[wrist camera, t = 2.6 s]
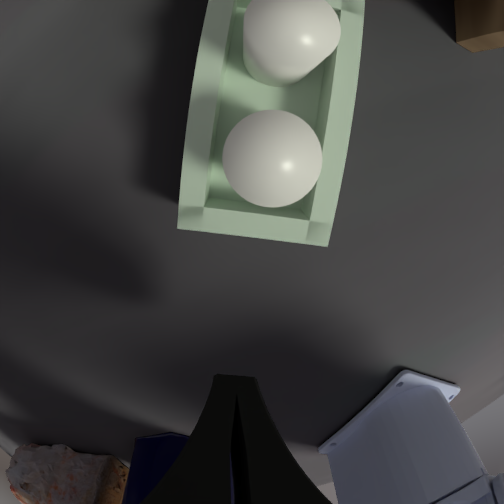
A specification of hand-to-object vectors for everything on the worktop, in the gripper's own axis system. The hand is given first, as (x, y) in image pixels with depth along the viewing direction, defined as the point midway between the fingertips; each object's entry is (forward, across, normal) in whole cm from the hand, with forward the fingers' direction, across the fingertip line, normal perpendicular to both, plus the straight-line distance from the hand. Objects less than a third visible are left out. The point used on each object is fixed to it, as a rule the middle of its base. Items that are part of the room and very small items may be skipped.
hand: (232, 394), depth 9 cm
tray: (+5, 0, -9) cm, 11 cm away
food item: (+5, +14, +22) cm, 26 cm away
